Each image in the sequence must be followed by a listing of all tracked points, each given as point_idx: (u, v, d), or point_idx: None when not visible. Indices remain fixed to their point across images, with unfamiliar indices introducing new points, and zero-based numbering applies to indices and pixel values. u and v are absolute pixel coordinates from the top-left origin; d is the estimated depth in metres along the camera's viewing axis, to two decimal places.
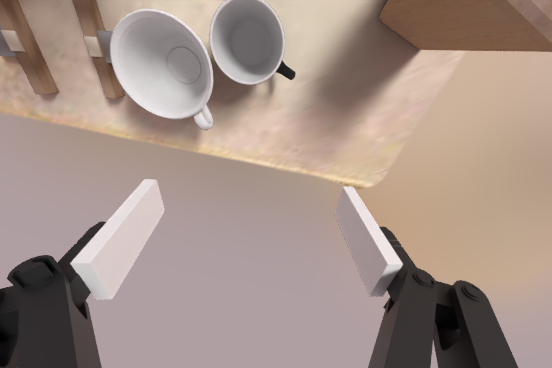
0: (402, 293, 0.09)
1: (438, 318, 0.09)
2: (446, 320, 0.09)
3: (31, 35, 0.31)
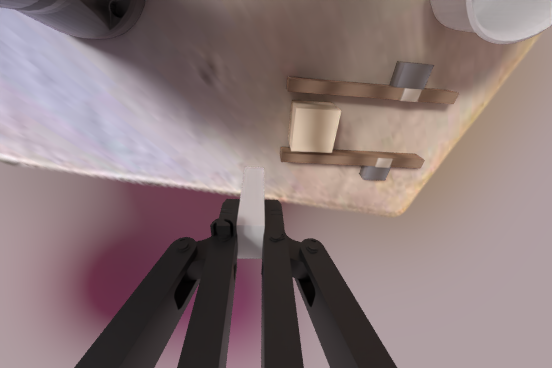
0: (264, 258, 0.10)
1: (291, 271, 0.11)
2: (296, 273, 0.11)
3: (374, 152, 0.36)
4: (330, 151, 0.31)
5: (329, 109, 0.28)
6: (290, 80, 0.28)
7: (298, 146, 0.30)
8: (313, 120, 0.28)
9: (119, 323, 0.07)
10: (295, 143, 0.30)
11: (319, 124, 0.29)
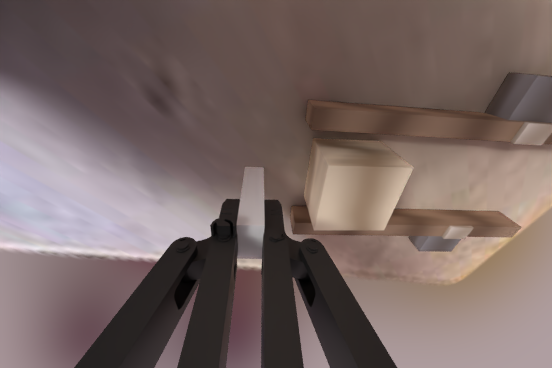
0: (264, 258, 0.10)
1: (291, 271, 0.11)
2: (296, 273, 0.11)
3: (438, 211, 0.23)
4: (382, 228, 0.18)
5: (390, 164, 0.15)
6: (316, 110, 0.14)
7: (326, 223, 0.17)
8: (358, 185, 0.15)
9: (119, 323, 0.07)
10: (321, 219, 0.17)
11: (369, 190, 0.15)
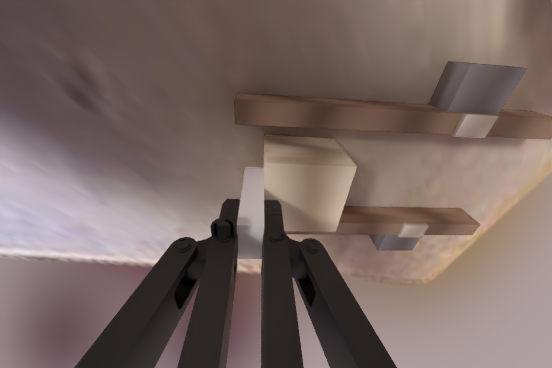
0: (264, 258, 0.10)
1: (290, 271, 0.11)
2: (296, 273, 0.11)
3: (395, 209, 0.22)
4: (333, 230, 0.17)
5: (333, 163, 0.14)
6: (236, 103, 0.14)
7: None
8: (301, 184, 0.14)
9: (119, 323, 0.07)
10: None
11: (313, 190, 0.15)
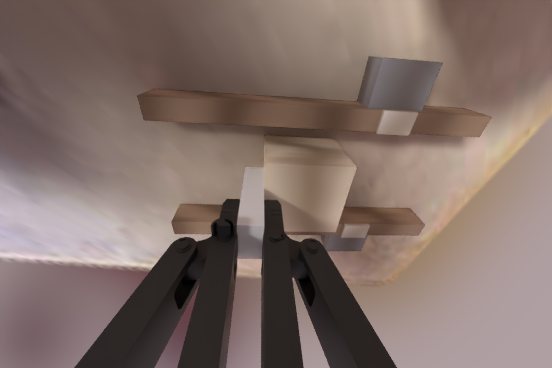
0: (264, 258, 0.10)
1: (290, 271, 0.11)
2: (296, 273, 0.11)
3: None
4: (333, 230, 0.17)
5: (332, 163, 0.14)
6: (140, 98, 0.13)
7: None
8: (301, 184, 0.14)
9: (119, 323, 0.07)
10: None
11: (313, 190, 0.15)
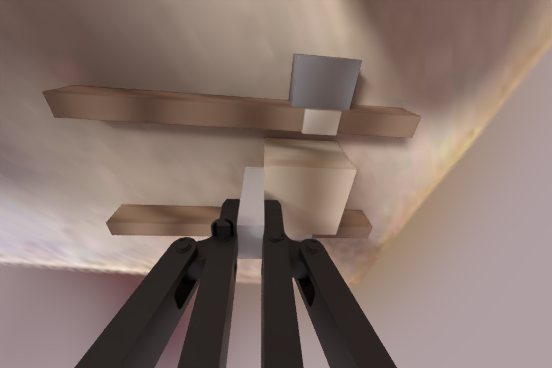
0: (264, 258, 0.10)
1: (290, 271, 0.11)
2: (296, 273, 0.11)
3: None
4: (333, 233, 0.17)
5: (333, 166, 0.14)
6: (46, 94, 0.13)
7: None
8: (300, 187, 0.14)
9: (119, 323, 0.07)
10: None
11: (313, 192, 0.15)
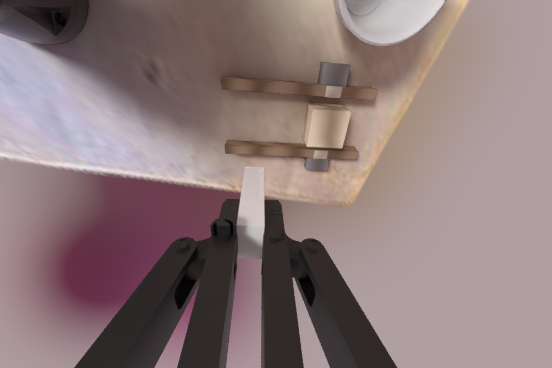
0: (264, 258, 0.10)
1: (291, 271, 0.11)
2: (296, 273, 0.11)
3: None
4: (341, 147, 0.35)
5: (341, 110, 0.32)
6: (222, 79, 0.31)
7: (313, 142, 0.35)
8: (327, 120, 0.33)
9: (119, 323, 0.07)
10: (310, 139, 0.34)
11: (332, 123, 0.33)
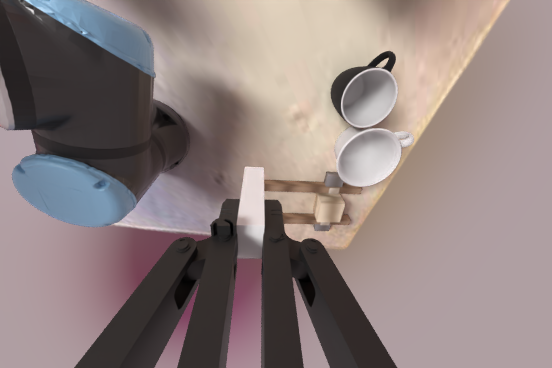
0: (264, 258, 0.10)
1: (291, 271, 0.11)
2: (296, 273, 0.11)
3: None
4: (339, 221, 0.54)
5: (338, 202, 0.51)
6: (265, 186, 0.50)
7: (321, 219, 0.54)
8: (330, 208, 0.52)
9: (119, 323, 0.07)
10: (319, 218, 0.53)
11: (333, 210, 0.52)
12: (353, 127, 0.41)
